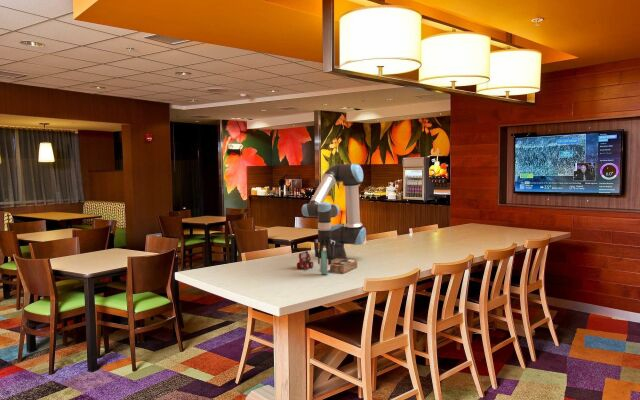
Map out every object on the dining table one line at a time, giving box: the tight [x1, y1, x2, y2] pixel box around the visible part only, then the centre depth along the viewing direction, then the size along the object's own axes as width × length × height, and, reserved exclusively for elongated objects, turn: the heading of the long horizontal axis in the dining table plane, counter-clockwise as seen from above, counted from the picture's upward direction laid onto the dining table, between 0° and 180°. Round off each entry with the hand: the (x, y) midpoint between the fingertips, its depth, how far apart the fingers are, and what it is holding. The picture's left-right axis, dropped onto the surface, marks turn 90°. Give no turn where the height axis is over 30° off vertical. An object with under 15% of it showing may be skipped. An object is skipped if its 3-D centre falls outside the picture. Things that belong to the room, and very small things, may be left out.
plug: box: [320, 249, 329, 275], centre depth 278 cm, size 4×4×13 cm
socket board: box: [328, 259, 358, 275], centre depth 292 cm, size 14×20×5 cm
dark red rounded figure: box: [296, 250, 314, 271], centre depth 296 cm, size 7×12×10 cm, turn 151°
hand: (324, 269), depth 278 cm, fingers closed on plug, 4 cm apart
